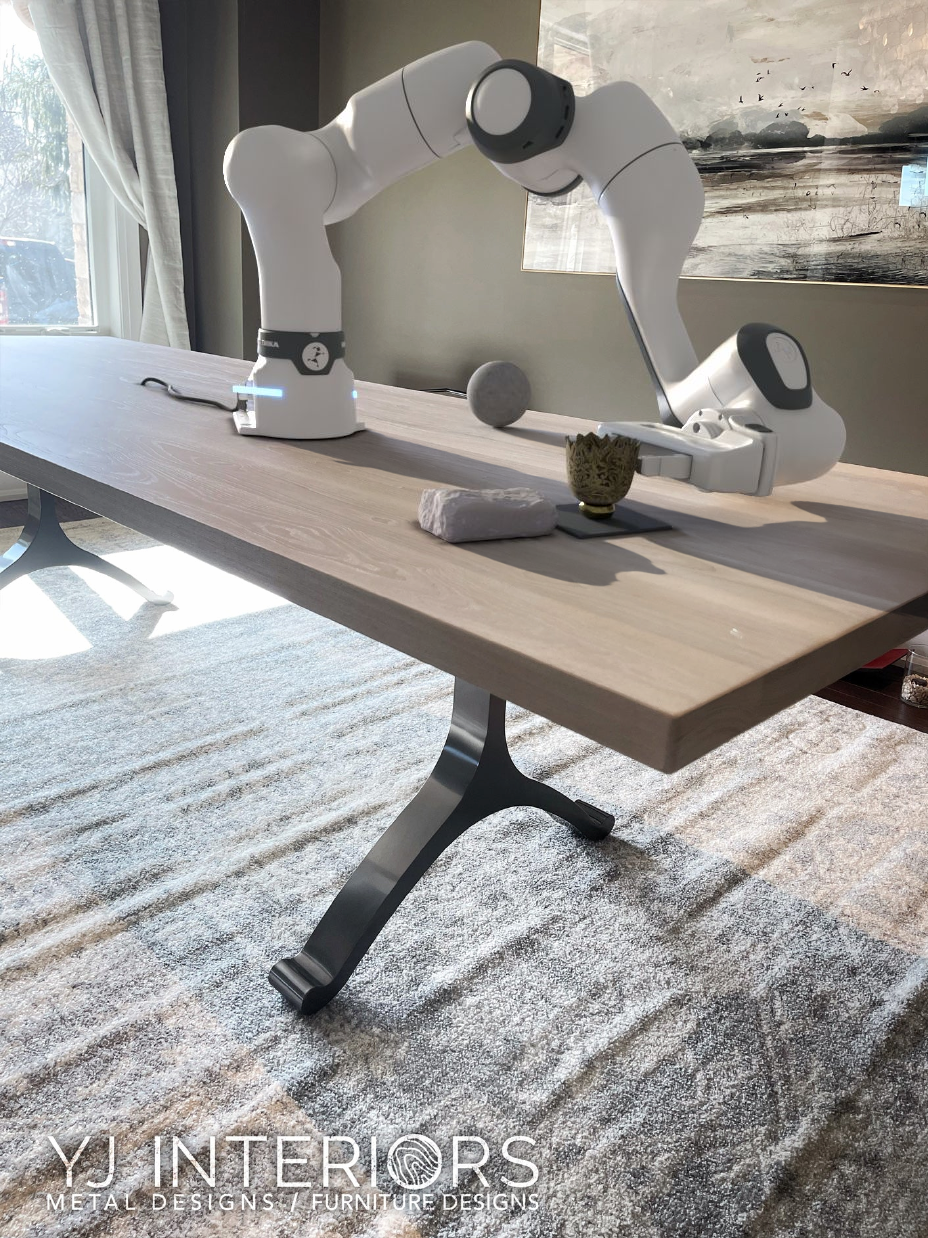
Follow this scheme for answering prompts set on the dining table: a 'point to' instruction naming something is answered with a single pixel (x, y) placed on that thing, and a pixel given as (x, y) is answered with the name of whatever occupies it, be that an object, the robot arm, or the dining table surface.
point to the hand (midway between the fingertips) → (611, 457)
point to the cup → (600, 472)
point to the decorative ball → (498, 393)
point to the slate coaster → (605, 522)
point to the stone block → (486, 513)
